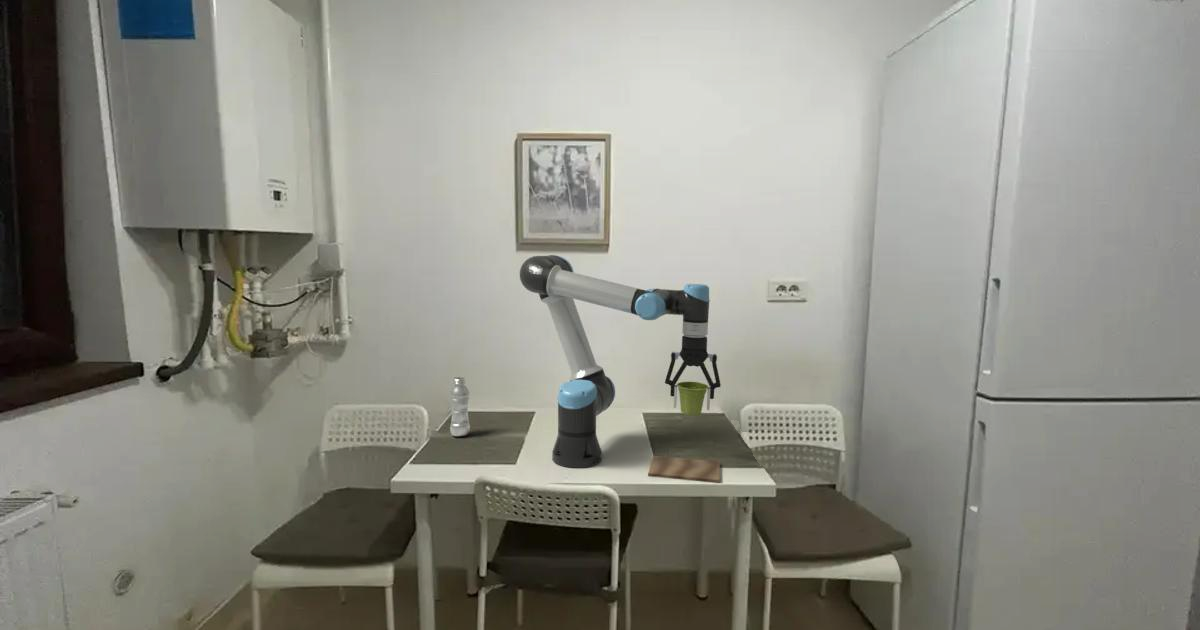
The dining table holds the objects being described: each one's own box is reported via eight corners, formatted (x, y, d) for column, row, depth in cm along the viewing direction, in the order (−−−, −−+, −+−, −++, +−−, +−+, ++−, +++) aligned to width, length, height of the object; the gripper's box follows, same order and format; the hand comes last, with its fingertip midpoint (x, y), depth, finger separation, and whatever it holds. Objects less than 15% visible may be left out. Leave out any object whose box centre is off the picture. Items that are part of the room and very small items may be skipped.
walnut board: (647, 475, 163) (648, 473, 162) (653, 458, 176) (653, 455, 176) (719, 482, 158) (719, 480, 158) (719, 464, 172) (719, 461, 172)
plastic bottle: (446, 437, 192) (445, 379, 190) (457, 431, 199) (456, 375, 196) (463, 439, 191) (462, 381, 188) (473, 433, 197) (472, 376, 195)
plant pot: (710, 411, 176) (712, 384, 175) (701, 419, 168) (702, 390, 167) (682, 406, 181) (683, 380, 180) (671, 414, 173) (672, 386, 171)
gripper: (657, 335, 170) (654, 408, 172) (732, 339, 166) (728, 414, 169) (659, 331, 177) (656, 401, 180) (731, 335, 173) (727, 406, 176)
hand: (691, 407), depth 174 cm, fingers closed on plant pot, 9 cm apart
